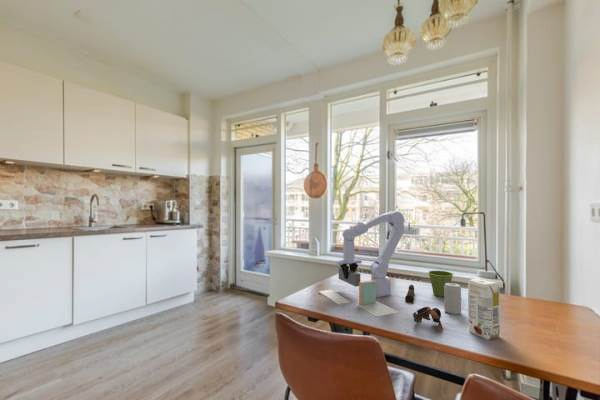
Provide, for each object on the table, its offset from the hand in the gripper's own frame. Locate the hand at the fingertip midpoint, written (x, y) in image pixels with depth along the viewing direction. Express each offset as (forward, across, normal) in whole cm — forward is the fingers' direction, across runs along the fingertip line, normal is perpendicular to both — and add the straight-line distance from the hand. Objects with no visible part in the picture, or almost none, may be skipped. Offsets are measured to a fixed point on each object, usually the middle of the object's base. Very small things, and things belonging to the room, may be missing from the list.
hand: (349, 278), depth 145 cm
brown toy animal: (+9, -8, +44) cm, 46 cm away
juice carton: (+8, -20, +57) cm, 61 cm away
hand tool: (+9, -26, +16) cm, 31 cm away
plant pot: (+8, -43, +19) cm, 48 cm away
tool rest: (+8, +10, +2) cm, 13 cm away
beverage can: (+8, -28, +38) cm, 48 cm away
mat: (+8, 0, +22) cm, 23 cm away
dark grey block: (+2, 0, 0) cm, 2 cm away
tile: (+8, 0, +16) cm, 18 cm away
